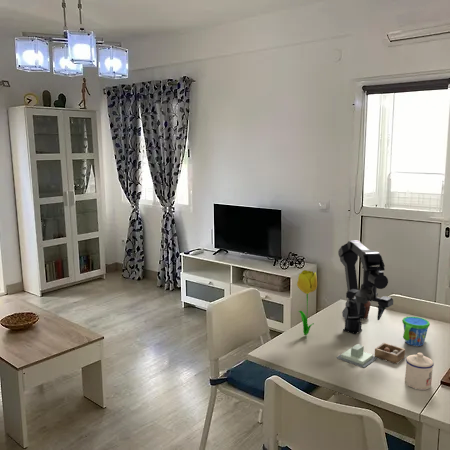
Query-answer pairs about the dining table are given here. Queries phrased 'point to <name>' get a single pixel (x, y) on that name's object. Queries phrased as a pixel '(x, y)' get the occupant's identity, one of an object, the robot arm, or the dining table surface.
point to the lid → (357, 354)
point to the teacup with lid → (419, 371)
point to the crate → (390, 353)
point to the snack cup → (415, 330)
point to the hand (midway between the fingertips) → (368, 317)
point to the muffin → (367, 308)
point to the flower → (306, 285)
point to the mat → (358, 363)
